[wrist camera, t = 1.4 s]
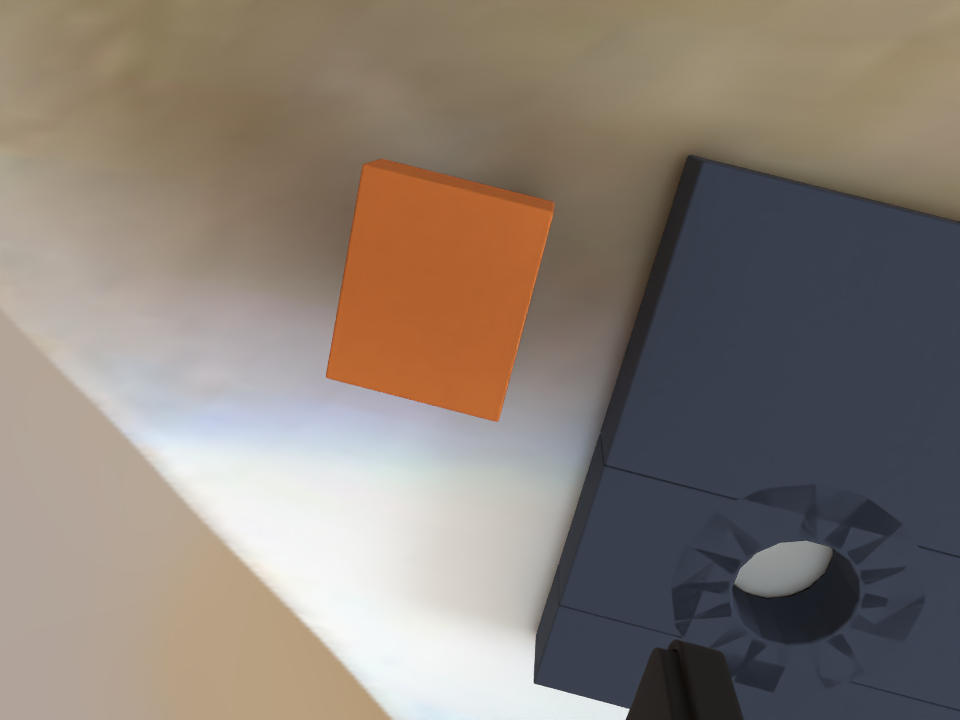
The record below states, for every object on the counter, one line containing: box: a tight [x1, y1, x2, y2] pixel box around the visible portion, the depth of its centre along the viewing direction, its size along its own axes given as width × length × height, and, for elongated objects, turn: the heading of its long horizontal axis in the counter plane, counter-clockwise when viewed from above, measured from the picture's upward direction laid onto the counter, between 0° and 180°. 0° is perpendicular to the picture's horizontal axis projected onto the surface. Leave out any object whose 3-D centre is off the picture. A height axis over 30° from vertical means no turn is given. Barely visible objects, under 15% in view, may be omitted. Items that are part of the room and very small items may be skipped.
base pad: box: [534, 155, 960, 720], centre depth 24 cm, size 18×14×2 cm
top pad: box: [326, 159, 554, 422], centre depth 22 cm, size 6×5×4 cm
